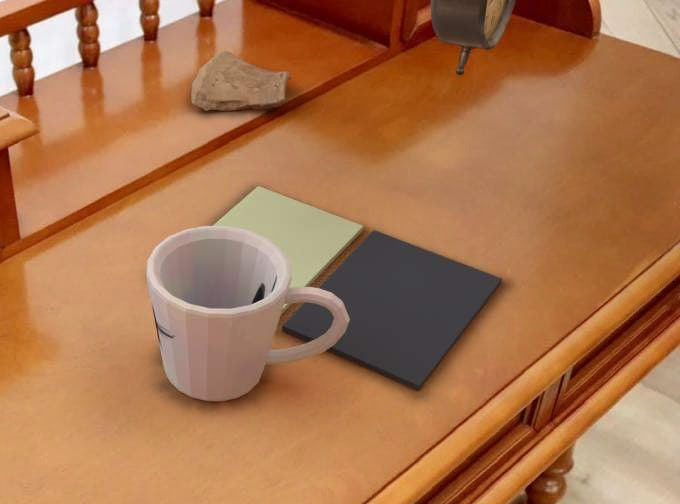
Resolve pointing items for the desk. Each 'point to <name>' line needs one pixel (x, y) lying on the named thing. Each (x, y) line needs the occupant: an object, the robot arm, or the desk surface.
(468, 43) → the alarm clock
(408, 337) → the slate mat
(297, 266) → the sage mat
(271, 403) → the desk surface
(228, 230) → the mug
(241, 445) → the desk surface
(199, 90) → the pottery shard
